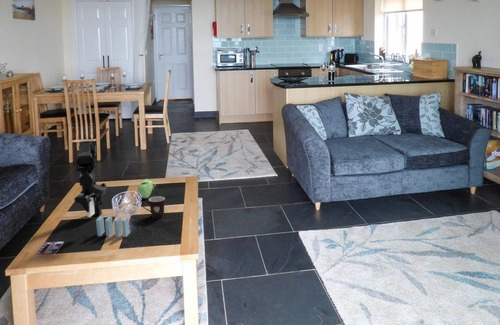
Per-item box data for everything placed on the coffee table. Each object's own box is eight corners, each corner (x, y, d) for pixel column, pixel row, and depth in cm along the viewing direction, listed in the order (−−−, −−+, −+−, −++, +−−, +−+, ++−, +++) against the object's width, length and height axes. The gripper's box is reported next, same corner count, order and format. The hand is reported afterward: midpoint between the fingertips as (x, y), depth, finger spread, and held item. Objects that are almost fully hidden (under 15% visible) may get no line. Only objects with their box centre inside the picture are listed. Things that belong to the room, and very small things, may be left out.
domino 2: (97, 236, 224) (95, 220, 222) (101, 231, 229) (100, 216, 227) (100, 236, 224) (99, 220, 222) (104, 232, 229) (103, 216, 227)
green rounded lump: (154, 200, 274) (153, 183, 271) (136, 200, 274) (135, 183, 271) (158, 193, 286) (157, 177, 283) (140, 194, 286) (139, 177, 283)
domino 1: (87, 217, 222) (85, 200, 220) (91, 213, 227) (90, 197, 225) (90, 217, 222) (88, 200, 220) (94, 213, 227) (93, 197, 225)
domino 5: (123, 236, 223) (121, 220, 221) (126, 232, 228) (125, 217, 226) (126, 237, 223) (124, 220, 221) (129, 232, 228) (128, 217, 226)
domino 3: (106, 236, 224) (104, 220, 222) (110, 232, 229) (108, 216, 226) (109, 236, 224) (108, 220, 222) (113, 232, 229) (112, 216, 226)
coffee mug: (168, 214, 252) (167, 197, 249) (160, 219, 244) (159, 202, 241) (150, 211, 256) (149, 195, 253) (142, 217, 248) (140, 200, 245)
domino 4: (115, 236, 223) (113, 220, 221) (118, 232, 228) (117, 216, 226) (118, 236, 223) (116, 220, 221) (122, 232, 228) (120, 216, 226)
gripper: (95, 186, 210) (98, 218, 214) (110, 175, 228) (113, 204, 232) (72, 186, 211) (75, 217, 215) (89, 174, 229) (92, 203, 233)
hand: (90, 210), depth 224 cm, fingers closed on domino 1, 5 cm apart
